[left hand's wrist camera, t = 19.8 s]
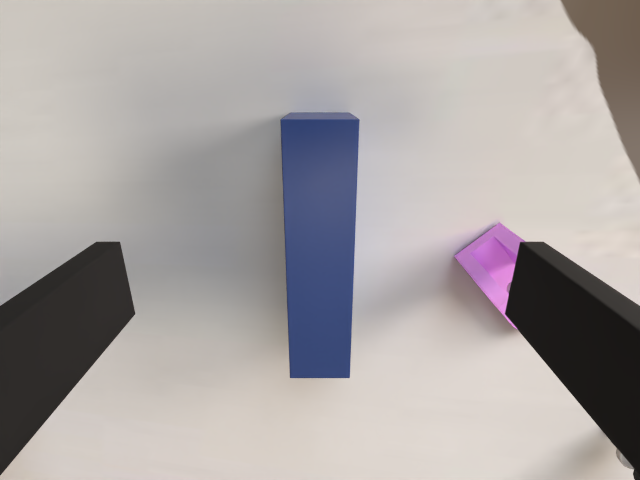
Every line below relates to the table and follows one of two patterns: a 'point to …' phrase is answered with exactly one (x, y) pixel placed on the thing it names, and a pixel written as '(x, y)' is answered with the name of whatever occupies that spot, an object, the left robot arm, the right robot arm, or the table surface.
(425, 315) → the table surface
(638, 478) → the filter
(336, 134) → the bar
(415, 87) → the table surface
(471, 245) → the bracket
